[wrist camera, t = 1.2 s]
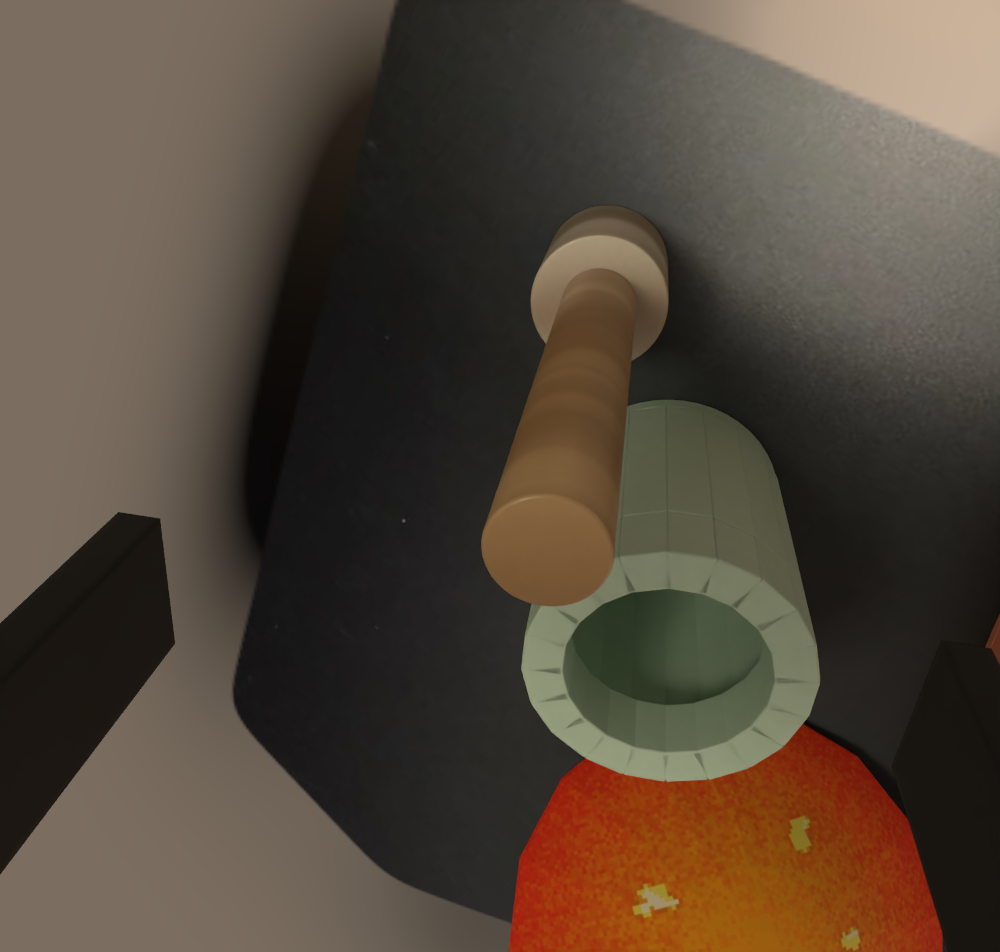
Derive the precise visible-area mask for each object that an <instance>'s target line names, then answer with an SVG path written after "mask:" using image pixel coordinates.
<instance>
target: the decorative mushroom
mask: <svg viewBox="0 0 1000 952" xmlns="http://www.w3.org/2000/svg"><path fill="white" fill-rule="evenodd" d="M509 952H942V930H941V927H940V924H939V920H938V917H937V914H936V910H935V907H934V904H933V900H932V897H931V894H930V891H929V887H928V884H927V881H926V877H925V874H924V871H923V867H922V864H921V861H920V858H919V854H918V851H917V848H916V844H915V841H914V838H913V834H912V831H911V828H910V825H909V821H908V819H907V818H906V816H905V815H904V814H903V813H902V811H901V810H900V809H899V808H898V806H897V805H896V804H895V803H894V801H893V800H892V799H891V798H890V796H889V795H888V794H887V793H886V791H885V790H884V789H883V788H882V786H881V785H880V784H879V783H878V781H877V780H876V779H875V778H874V776H873V775H872V774H871V773H870V771H869V770H868V769H867V768H866V766H865V765H864V764H863V762H862V761H861V760H860V759H859V757H858V756H857V755H855V754H853V753H852V752H850V751H848V750H847V749H845V748H843V747H842V746H840V745H838V744H837V743H835V742H833V741H832V740H830V739H828V738H827V737H825V736H823V735H821V734H820V733H818V732H816V731H815V730H813V729H811V728H810V727H808V726H806V725H805V724H802V725H801V726H800V728H799V729H798V730H797V731H796V732H795V734H794V735H793V736H792V737H791V738H790V740H789V741H788V742H787V743H786V744H785V745H783V747H782V748H781V749H779V750H778V751H776V752H775V753H773V754H771V755H770V756H768V757H767V758H765V759H763V760H762V761H760V762H758V763H757V764H755V765H754V766H752V767H749V768H748V769H745V770H741V771H738V772H734V773H731V774H728V775H724V776H721V777H717V778H714V779H711V780H710V779H707V780H692V781H671V782H668V781H666V780H665V781H658V780H652V779H646V778H641V777H635V776H629V775H625V774H624V773H623V774H621V773H618V772H616V771H614V770H611V769H609V768H607V767H604V766H602V765H600V764H597V763H595V762H593V761H590V760H588V759H586V758H585V759H583V760H582V761H581V762H580V763H579V764H577V765H576V766H575V767H574V768H573V769H571V770H570V771H569V772H568V773H567V774H565V775H564V776H563V777H562V778H561V780H560V782H559V784H558V786H557V788H556V790H555V792H554V793H553V795H552V797H551V799H550V801H549V803H548V805H547V807H546V809H545V810H544V812H543V814H542V816H541V818H540V820H539V822H538V824H537V826H536V828H535V829H534V831H533V833H532V835H531V837H530V839H529V841H528V843H527V845H526V846H525V848H524V850H523V852H522V854H521V856H520V859H519V868H518V876H517V885H516V893H515V901H514V910H513V918H512V927H511V935H510V944H509Z"/></svg>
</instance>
